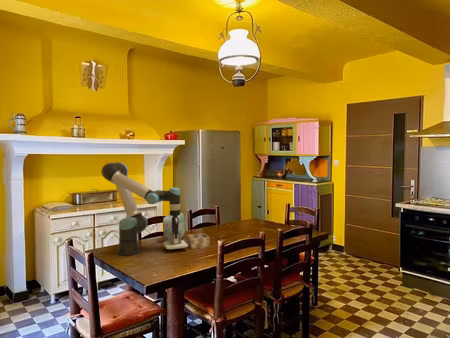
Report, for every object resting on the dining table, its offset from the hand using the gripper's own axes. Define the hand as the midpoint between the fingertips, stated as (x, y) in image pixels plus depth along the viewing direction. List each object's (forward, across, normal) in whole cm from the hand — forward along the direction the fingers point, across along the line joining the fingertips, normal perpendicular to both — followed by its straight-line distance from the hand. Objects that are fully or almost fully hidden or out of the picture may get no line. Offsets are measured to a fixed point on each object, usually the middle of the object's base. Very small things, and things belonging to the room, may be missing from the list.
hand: (175, 242), depth 249 cm
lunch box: (+6, +28, -5) cm, 29 cm away
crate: (+5, +5, -18) cm, 19 cm away
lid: (+3, 0, 0) cm, 3 cm away
